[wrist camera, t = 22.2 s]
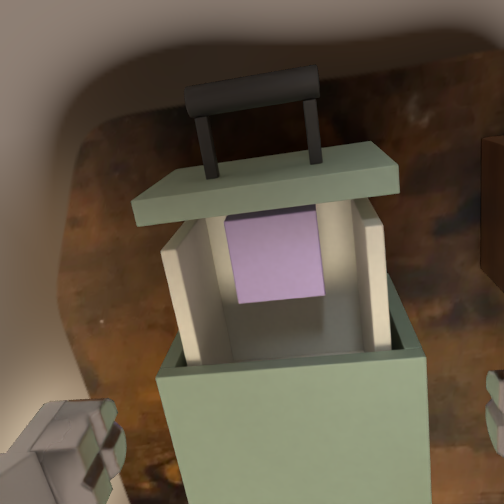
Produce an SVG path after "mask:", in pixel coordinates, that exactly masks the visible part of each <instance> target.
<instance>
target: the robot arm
mask: <svg viewBox="0 0 504 504" xmlns="http://www.w3.org/2000/svg"><path fill="white" fill-rule="evenodd" d="M486 388H487V390H488V392H489V393H490V395H491V397H492V399H491V400H490V401H489V402H488V403H487V404H486V423H487V428H488V433H489V436H490V439H491V442H492V444H493V446H494V448H495V450H496V452H497V454H499V455H500V456H502V457H503V458H504V370H493V371H488V374H487V377H486ZM117 414H118V411H117V409H116V406H115V403H114V401H113V400H111V399H109V398H100V399H80V400H69V401H67V400H64V401H50V402H48V403H45V404H43V406H42V407H41V408H40V409H39V411H38V412H37V413H36V415H35V416H34V417H33V419H32V420H31V421H30V422H29V424H28V425H27V426H26V428H25V429H24V430H23V432H22V433H21V434H20V435H19V437H18V438H17V439H16V441H15V442H14V443H13V445H12V446H11V447H10V448H9V450H8V451H7V453H1V454H0V504H106V503H107V501H108V498H109V496H110V494H111V491H112V489H113V488H112V485H111V483H110V480H111V479H112V478H114V477H115V476H116V475H117V474H118V473H119V472H120V471H121V469H122V466H123V464H124V461H125V455H126V448H127V447H126V437H125V434H124V430H123V428H122V427H121V426H120V425H118V424H117V423H116V422H115V421H114V420H115V418H116V416H117Z"/></svg>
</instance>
